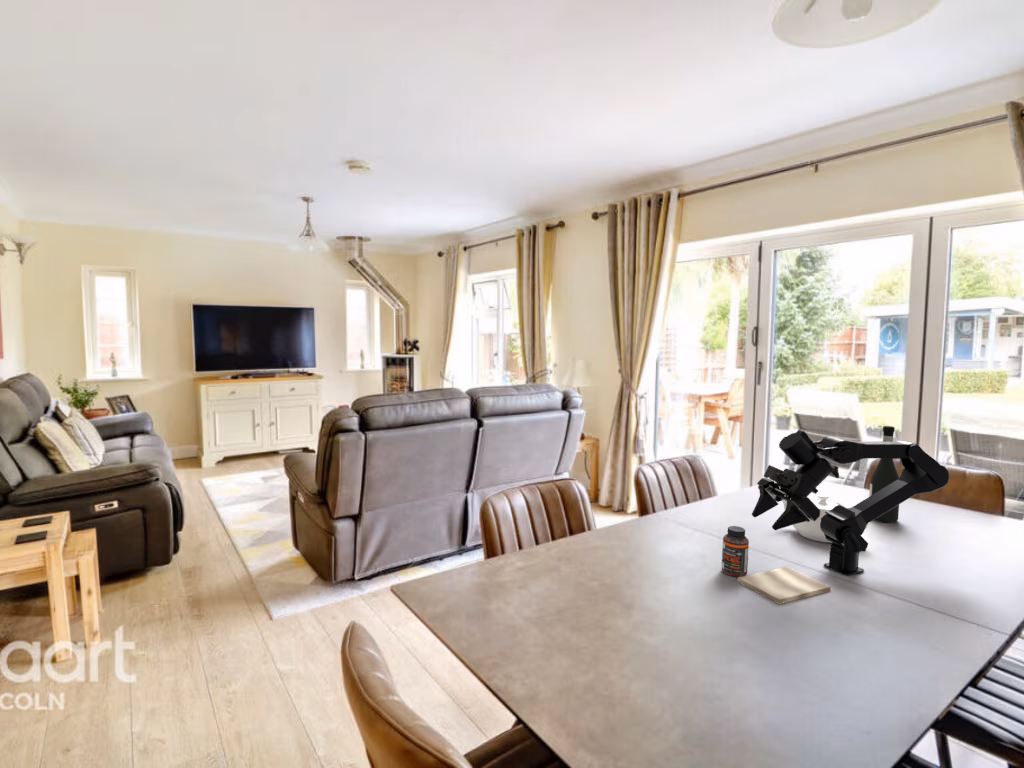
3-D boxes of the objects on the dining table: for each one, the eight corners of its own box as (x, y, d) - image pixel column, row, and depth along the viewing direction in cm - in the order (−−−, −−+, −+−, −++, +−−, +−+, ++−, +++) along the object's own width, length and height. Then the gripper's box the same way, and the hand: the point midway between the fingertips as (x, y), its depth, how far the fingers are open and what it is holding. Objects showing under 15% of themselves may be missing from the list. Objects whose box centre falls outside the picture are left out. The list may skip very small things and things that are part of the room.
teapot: (875, 542, 157) (878, 499, 156) (855, 555, 147) (858, 510, 146) (785, 519, 176) (788, 481, 175) (763, 529, 166) (765, 489, 165)
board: (786, 570, 138) (786, 566, 138) (830, 590, 127) (830, 586, 127) (737, 581, 132) (737, 577, 131) (779, 603, 121) (779, 599, 120)
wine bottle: (862, 517, 178) (867, 425, 175) (877, 514, 181) (883, 423, 179) (888, 525, 171) (894, 429, 168) (903, 521, 174) (910, 427, 172)
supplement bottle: (719, 574, 135) (721, 529, 134) (722, 565, 140) (724, 522, 139) (746, 580, 132) (748, 534, 131) (748, 570, 138) (750, 526, 137)
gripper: (766, 447, 144) (723, 489, 144) (810, 463, 125) (762, 512, 126) (793, 476, 145) (751, 518, 145) (841, 497, 127) (793, 545, 127)
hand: (762, 522), depth 136 cm, fingers open, 9 cm apart
